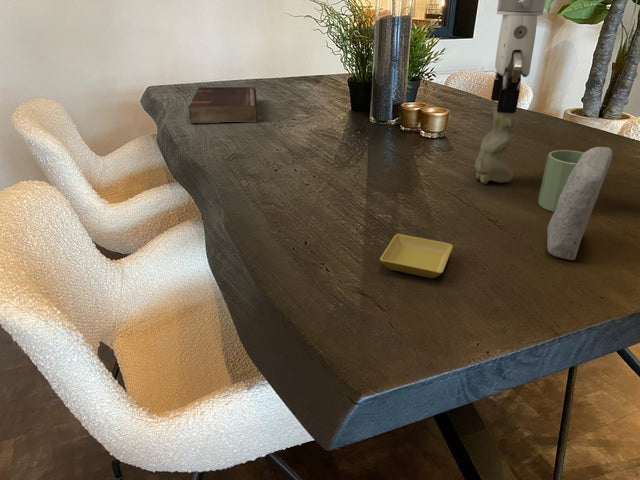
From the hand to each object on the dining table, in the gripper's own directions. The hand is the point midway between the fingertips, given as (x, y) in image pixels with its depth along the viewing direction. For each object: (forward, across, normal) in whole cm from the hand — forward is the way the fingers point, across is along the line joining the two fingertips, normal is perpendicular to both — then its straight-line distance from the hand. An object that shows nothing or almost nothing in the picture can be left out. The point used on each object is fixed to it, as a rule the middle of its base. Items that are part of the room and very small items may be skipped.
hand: (502, 106), depth 91 cm
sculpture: (+15, 0, 0) cm, 15 cm away
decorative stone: (+15, -26, -8) cm, 31 cm away
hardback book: (+16, +47, +74) cm, 89 cm away
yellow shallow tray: (+15, -36, +14) cm, 41 cm away
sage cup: (+15, -10, -12) cm, 21 cm away
